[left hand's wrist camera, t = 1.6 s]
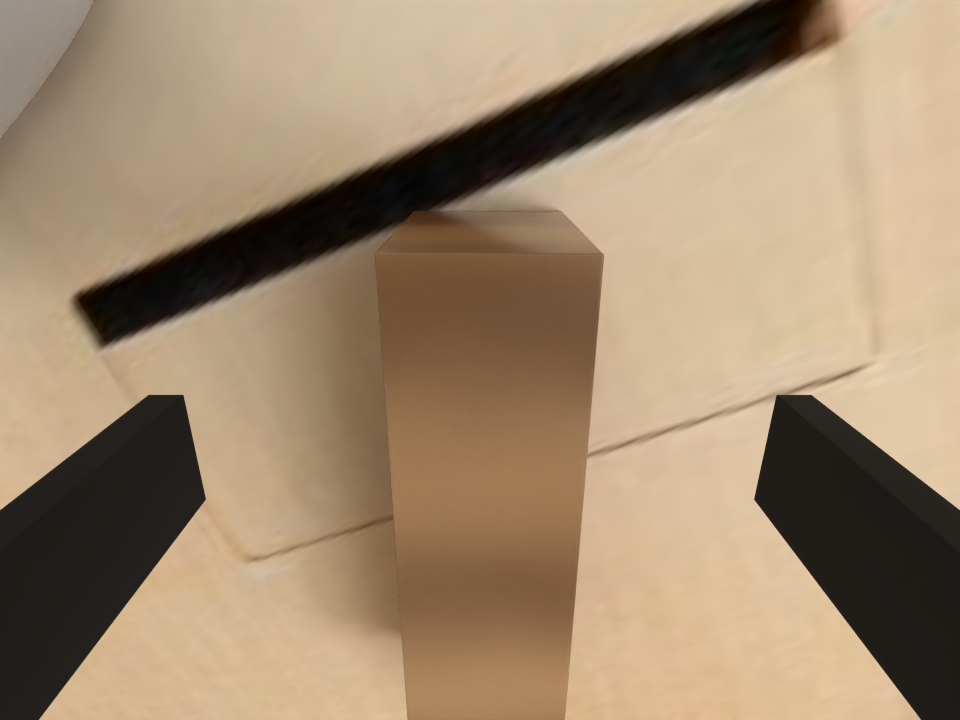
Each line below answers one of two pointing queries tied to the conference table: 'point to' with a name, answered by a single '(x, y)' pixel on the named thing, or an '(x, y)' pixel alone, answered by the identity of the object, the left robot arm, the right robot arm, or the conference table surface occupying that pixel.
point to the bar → (487, 452)
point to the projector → (33, 48)
